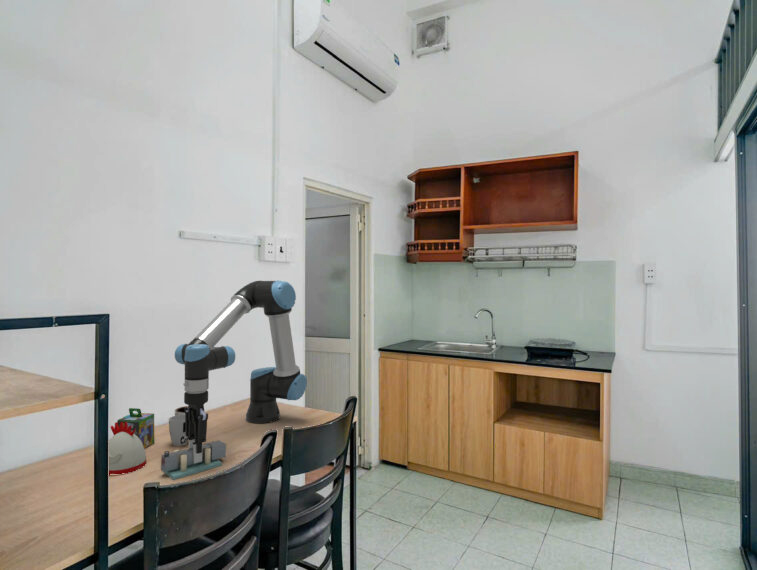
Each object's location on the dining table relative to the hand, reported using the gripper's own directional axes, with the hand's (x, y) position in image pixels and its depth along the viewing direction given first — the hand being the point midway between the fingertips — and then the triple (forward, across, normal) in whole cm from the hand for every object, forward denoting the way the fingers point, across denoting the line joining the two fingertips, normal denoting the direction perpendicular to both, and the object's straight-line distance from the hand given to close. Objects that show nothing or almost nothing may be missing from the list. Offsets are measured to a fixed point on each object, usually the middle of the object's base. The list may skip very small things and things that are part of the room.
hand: (195, 460), depth 148 cm
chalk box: (+2, -33, -8) cm, 34 cm away
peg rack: (+2, 0, -1) cm, 2 cm away
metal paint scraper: (0, 0, 0) cm, 1 cm away
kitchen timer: (+3, -17, -17) cm, 24 cm away
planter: (+2, -36, +13) cm, 38 cm away
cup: (+2, -25, +5) cm, 26 cm away
